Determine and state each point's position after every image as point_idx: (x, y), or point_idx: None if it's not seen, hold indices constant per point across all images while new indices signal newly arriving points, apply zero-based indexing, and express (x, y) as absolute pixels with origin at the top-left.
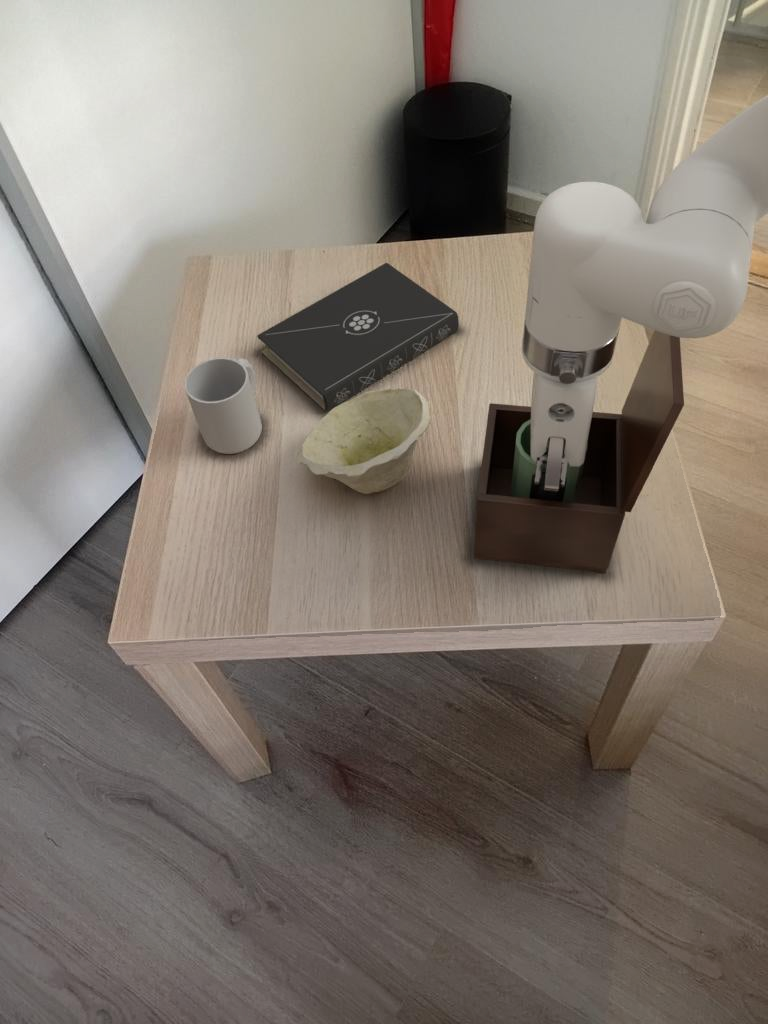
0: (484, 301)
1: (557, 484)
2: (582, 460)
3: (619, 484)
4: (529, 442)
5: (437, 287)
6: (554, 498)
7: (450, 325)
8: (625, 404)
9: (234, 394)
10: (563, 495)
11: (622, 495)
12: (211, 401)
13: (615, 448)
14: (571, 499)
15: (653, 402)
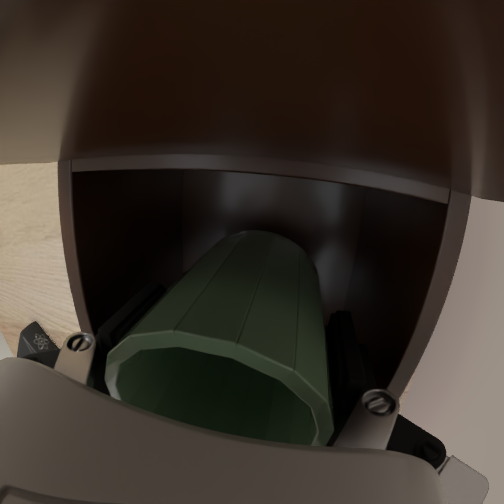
0: (8, 290)
1: (483, 499)
2: (446, 500)
3: (355, 173)
4: (181, 385)
5: (14, 325)
6: (369, 363)
7: (32, 336)
8: (22, 162)
9: None
10: (356, 337)
11: (438, 185)
12: None
13: (166, 168)
14: (302, 265)
15: None
